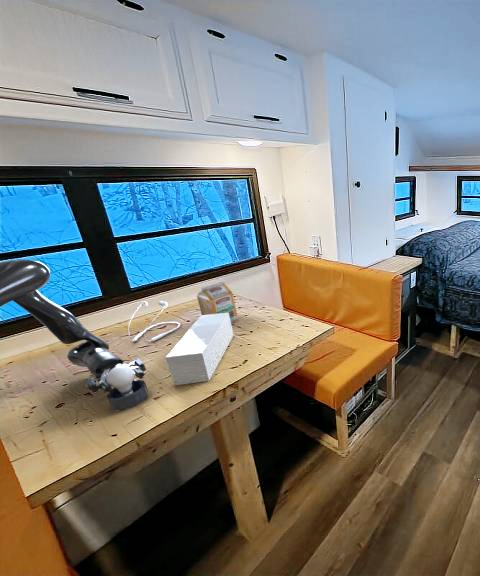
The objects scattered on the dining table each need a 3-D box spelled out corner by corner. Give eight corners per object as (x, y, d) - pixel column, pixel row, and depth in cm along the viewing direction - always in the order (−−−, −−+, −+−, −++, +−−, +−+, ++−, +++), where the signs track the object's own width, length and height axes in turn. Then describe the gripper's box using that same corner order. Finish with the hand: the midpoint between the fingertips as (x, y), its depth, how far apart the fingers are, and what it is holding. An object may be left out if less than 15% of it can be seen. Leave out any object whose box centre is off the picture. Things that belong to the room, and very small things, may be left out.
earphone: (116, 338, 122) (135, 298, 131) (146, 351, 137) (161, 314, 146) (149, 338, 122) (166, 298, 131) (175, 351, 136) (189, 314, 145)
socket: (134, 410, 89) (130, 399, 88) (102, 411, 89) (98, 400, 88) (155, 389, 98) (152, 379, 97) (126, 390, 98) (122, 380, 96)
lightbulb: (111, 401, 92) (98, 371, 88) (135, 388, 97) (123, 359, 93) (123, 407, 89) (110, 376, 85) (146, 393, 95) (135, 364, 91)
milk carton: (216, 329, 136) (207, 289, 130) (204, 324, 142) (194, 285, 135) (238, 320, 145) (230, 282, 138) (225, 315, 150) (217, 279, 144)
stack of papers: (206, 338, 129) (200, 315, 125) (233, 335, 131) (228, 312, 127) (174, 385, 100) (165, 357, 96) (209, 380, 102) (202, 353, 98)
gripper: (71, 366, 91) (90, 385, 83) (128, 345, 103) (150, 359, 94) (80, 387, 94) (99, 407, 86) (135, 364, 105) (157, 380, 97)
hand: (126, 382), depth 90 cm, fingers open, 7 cm apart
